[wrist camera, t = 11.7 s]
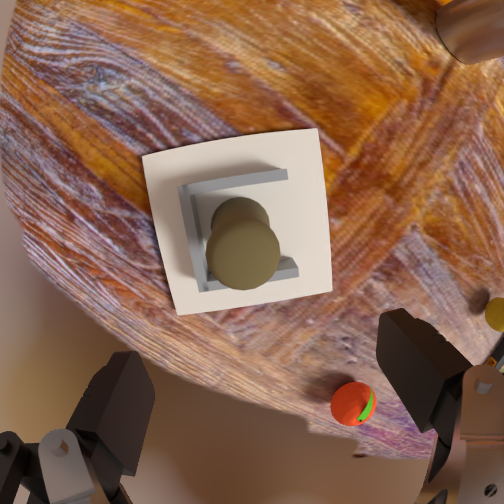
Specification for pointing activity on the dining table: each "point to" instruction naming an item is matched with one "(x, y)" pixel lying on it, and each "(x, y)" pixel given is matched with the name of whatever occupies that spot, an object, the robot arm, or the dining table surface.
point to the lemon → (495, 314)
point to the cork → (242, 245)
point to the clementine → (353, 404)
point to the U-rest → (250, 186)
